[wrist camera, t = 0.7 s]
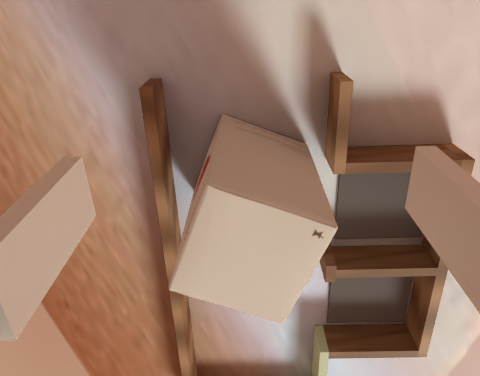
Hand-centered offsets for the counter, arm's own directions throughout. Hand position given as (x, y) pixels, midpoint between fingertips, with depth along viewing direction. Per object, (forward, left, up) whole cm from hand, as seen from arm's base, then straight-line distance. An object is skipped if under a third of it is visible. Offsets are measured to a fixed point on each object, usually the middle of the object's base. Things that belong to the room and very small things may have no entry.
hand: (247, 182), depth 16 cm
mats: (+19, +13, -21) cm, 31 cm away
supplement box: (+9, 0, -22) cm, 23 cm away
